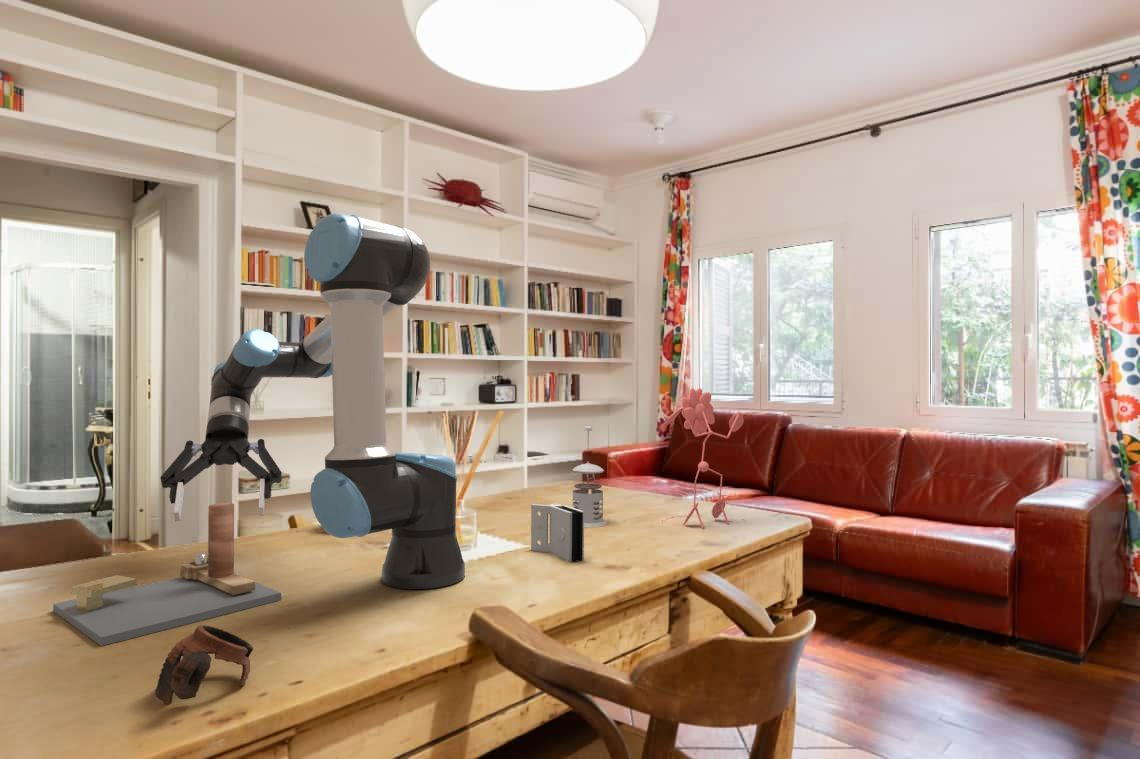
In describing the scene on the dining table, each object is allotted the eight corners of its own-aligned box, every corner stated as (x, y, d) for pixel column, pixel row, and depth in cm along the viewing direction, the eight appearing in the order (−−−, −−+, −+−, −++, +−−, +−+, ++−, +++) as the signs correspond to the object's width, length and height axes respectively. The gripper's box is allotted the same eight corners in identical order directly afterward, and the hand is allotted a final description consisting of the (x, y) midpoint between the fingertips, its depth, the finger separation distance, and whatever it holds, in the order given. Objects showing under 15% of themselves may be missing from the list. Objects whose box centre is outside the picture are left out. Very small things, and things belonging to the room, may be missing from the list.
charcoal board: (281, 599, 116) (281, 592, 116) (101, 646, 96) (101, 637, 96) (221, 575, 130) (221, 569, 130) (53, 611, 109) (53, 603, 109)
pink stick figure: (752, 520, 182) (750, 387, 182) (682, 533, 167) (680, 388, 167) (709, 512, 194) (707, 387, 195) (639, 523, 179) (638, 388, 180)
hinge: (529, 550, 150) (530, 504, 150) (548, 546, 153) (548, 501, 154) (573, 563, 140) (574, 513, 140) (592, 558, 143) (593, 510, 143)
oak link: (176, 574, 124) (177, 500, 124) (210, 567, 129) (210, 495, 129) (226, 596, 112) (226, 514, 112) (261, 588, 117) (261, 508, 117)
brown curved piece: (162, 682, 86) (200, 617, 88) (233, 712, 87) (268, 647, 89) (125, 700, 74) (170, 625, 77) (208, 734, 75) (249, 659, 78)
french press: (565, 526, 174) (566, 427, 174) (573, 517, 185) (573, 423, 185) (604, 528, 172) (605, 427, 172) (609, 518, 184) (610, 424, 184)
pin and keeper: (215, 576, 125) (215, 554, 125) (91, 613, 105) (91, 587, 105) (195, 573, 127) (195, 551, 127) (70, 608, 107) (71, 582, 107)
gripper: (295, 435, 145) (294, 521, 132) (159, 438, 136) (142, 531, 122) (295, 411, 140) (294, 497, 127) (153, 413, 131) (136, 506, 117)
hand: (219, 514), depth 124 cm, fingers open, 13 cm apart
